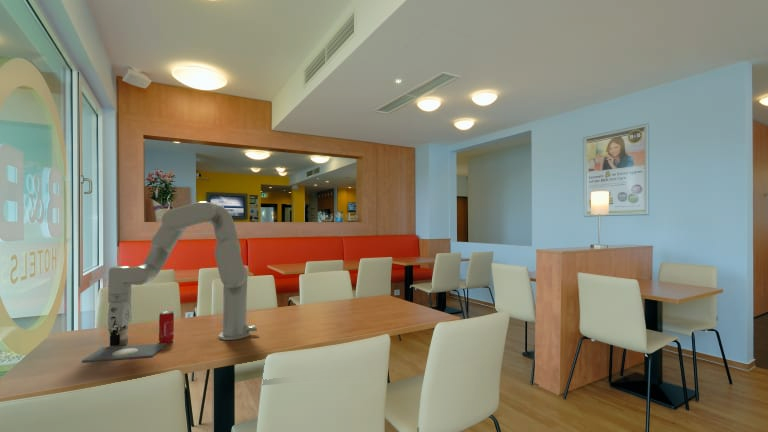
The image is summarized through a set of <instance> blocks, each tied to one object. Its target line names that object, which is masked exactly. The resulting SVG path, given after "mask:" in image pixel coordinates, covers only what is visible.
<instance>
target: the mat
mask: <svg viewBox="0 0 768 432" xmlns="http://www.w3.org/2000/svg"><path fill="white" fill-rule="evenodd" d="M166 344H167V343H151V344H150V343H149V344H134V345H133V344H131V345H125V346H116V347H109V346H105V347H101V348H99V349H98V350H96V351H94V352H93V353H91V354H90V355H88V356H86V357H85V358H84V359H82V360H81V363H88V362H89V363H90V362H91V363H92V362H102V361H104V362H105V361H116V360H127V359H128V360H129V359H130V360H131V359H142V358H153V357H154V356H155V355H156V354H157V353H159V351H161V350H162V349H163V347H165V346H166Z"/></svg>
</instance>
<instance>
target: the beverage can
mask: <svg viewBox="0 0 768 432" xmlns="http://www.w3.org/2000/svg"><path fill="white" fill-rule="evenodd" d="M158 316H159V317H158V320H159V321H158V341H159V344H162V343H166V344H169V343H172V342H173V340H174V338H175V337H174V330H175V329H174V324H175V313H174V311H173V310H172V311H171V310H170V311H168V310H167V311H162V312H159V315H158Z"/></svg>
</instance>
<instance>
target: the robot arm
mask: <svg viewBox="0 0 768 432" xmlns="http://www.w3.org/2000/svg"><path fill="white" fill-rule="evenodd" d="M202 223H211V225H212V227H213V232H214V236H215V239H216V245H215V247H214V258H215V262H216V266H217V270H218V275H219V279H220V281H221V283H222V284H223V287H222V288H223V294H222V331H221V332H220V333H219V334H218V338H219V339H220V340H224V341H236V340H242V339H245V338H247V337H249V336H250V335H251V332H258V326H257V325H256V326H255V325H248V322H247V307H248V306H247V300H248V299H247V298H248V269H247V267H246V266H245V265H244V263H243V258H242V255H241V252H242V248H241V247H242V246H241V245H240V241H239V237H238V233H237V230H236V226H235V223H234V219H233V217H232V214H231V213H230V212H229V211H228V209H226V208H225V207H224V206H221V205H219V204H215V203H213V202H208V201H204V200H203V201H198V202H193V203H190V204H187V205H183V206H178V207H176V208H175V207H174V208H170V209H168V210H166V211H165V212H164V213H163V214H162V216H161V225H160V227H159V228H158V229H157V231H156V232H155V233H154V236H152V238H151V241H150V246H151V248H150V251H149V253H148V254H147V256H146V257H145V259H144V260H143V262H142V264H140V265H138V266H128V265H116V266H111V267H110V268H109V270H108V285H107V286H108V288H107V289H108V290H107V293H108V294H107V303H109V305H108V313H107V331H108V332H109V344H110V346H114V345H119V344H120V335H119V330H120V328H128V329H129V324H130V323H131V322H132V319H133V316H132V285H135V286H141V285H144V284H147V283H149V282H151V281H153V280H154V279H156V277H157V276H158V274H159V273H160V271H161V270H162V269H163V267H164V266H165V264H166V262H167V260H168V259H169V256H171V255H170V254H171V253H172V250H173V249H174V248H175V246H176V244H177V242H178V241H179V240H180V238H181V237H182V235H183V233H184V232H185V231H186V229H187V228H188V227H192V226H195V225H199V224H202ZM115 329H117V331H116V330H115Z"/></svg>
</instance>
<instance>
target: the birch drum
mask: <svg viewBox="0 0 768 432" xmlns="http://www.w3.org/2000/svg"><path fill="white" fill-rule="evenodd" d="M115 330H116V331H117V329H115ZM119 335H120V344H119V345H114V346H110V343H109V344H108V345H109V346H108V347H116V346H128V345H129V327H128V328H120V330H119Z"/></svg>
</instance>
